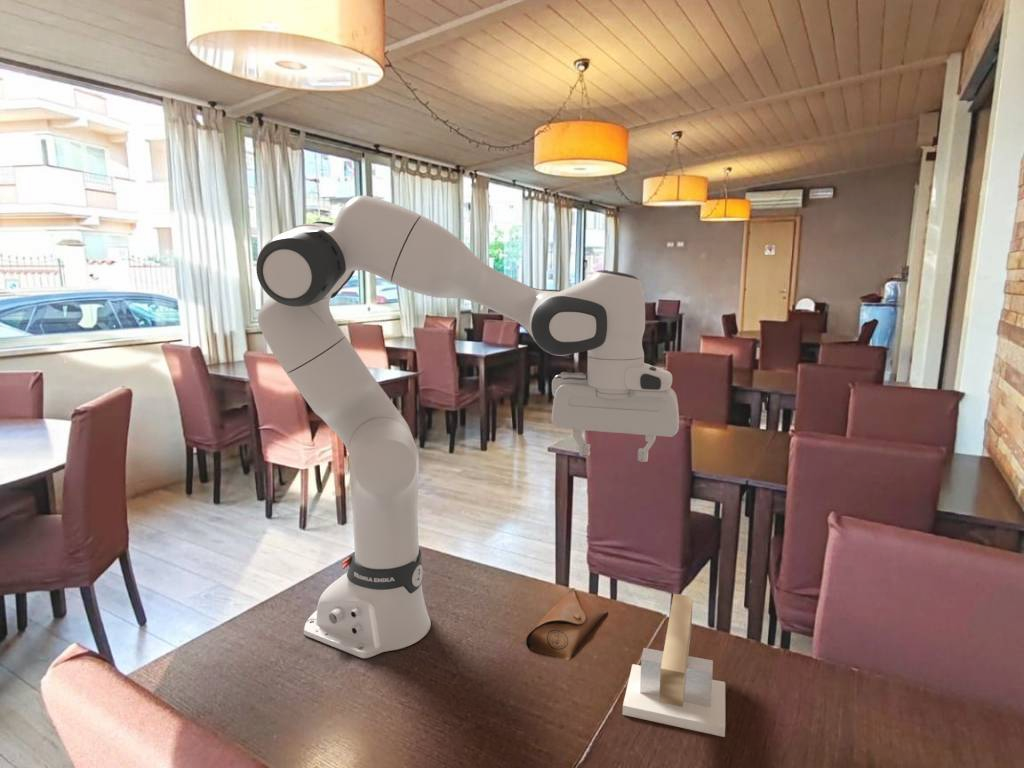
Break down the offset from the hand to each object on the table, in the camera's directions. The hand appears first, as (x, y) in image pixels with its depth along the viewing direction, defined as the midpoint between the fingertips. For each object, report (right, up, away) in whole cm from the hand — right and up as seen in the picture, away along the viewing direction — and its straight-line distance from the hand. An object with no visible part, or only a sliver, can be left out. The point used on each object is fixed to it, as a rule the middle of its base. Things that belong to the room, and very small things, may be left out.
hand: (613, 457), depth 101 cm
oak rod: (+8, -28, -10) cm, 31 cm away
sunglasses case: (-6, -33, +10) cm, 35 cm away
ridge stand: (+8, -35, -9) cm, 37 cm away
